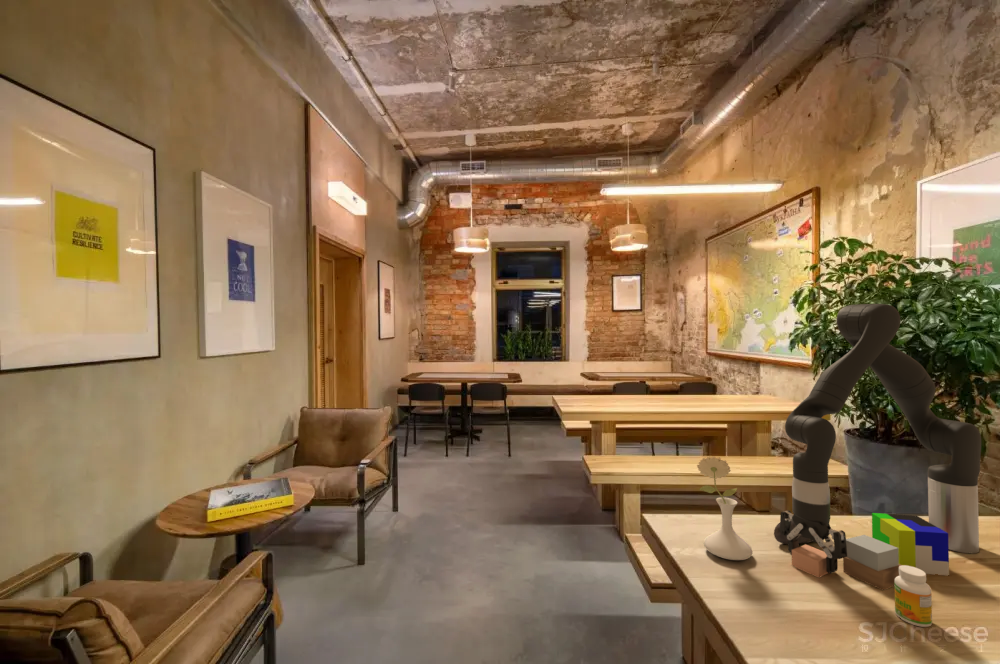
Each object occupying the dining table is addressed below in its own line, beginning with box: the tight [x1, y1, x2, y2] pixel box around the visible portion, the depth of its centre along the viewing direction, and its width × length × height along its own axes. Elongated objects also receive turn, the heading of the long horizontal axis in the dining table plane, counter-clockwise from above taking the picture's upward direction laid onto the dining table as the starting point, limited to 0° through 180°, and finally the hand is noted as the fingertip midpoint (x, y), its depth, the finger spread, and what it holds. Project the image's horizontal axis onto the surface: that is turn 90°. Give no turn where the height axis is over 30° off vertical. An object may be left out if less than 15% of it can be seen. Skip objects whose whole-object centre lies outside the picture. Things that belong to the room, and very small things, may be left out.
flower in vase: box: [696, 455, 754, 561], centre depth 114 cm, size 13×11×25 cm
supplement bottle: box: [894, 565, 933, 628], centre depth 87 cm, size 5×5×10 cm
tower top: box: [846, 534, 899, 571], centre depth 102 cm, size 7×7×4 cm
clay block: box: [791, 543, 829, 578], centre depth 106 cm, size 6×6×4 cm
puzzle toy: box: [871, 512, 950, 576], centre depth 107 cm, size 10×10×10 cm
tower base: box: [842, 557, 902, 591], centre depth 101 cm, size 8×8×4 cm
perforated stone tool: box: [773, 520, 813, 545], centre depth 119 cm, size 15×5×7 cm, turn 101°
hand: (811, 563), depth 106 cm, fingers open, 8 cm apart
